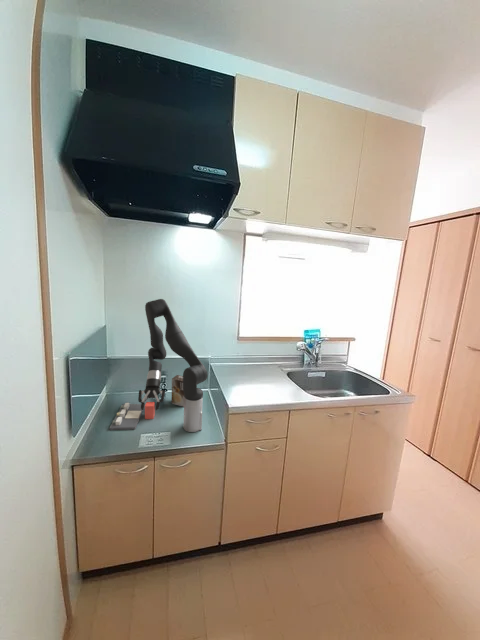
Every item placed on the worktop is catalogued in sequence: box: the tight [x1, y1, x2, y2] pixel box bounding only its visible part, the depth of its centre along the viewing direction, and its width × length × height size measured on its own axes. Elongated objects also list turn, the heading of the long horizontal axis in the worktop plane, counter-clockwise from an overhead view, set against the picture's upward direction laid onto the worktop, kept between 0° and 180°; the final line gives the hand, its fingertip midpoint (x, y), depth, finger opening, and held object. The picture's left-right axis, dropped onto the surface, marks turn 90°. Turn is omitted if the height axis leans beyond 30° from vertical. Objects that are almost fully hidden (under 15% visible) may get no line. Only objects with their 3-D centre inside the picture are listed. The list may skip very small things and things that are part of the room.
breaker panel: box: [109, 402, 146, 431], centre depth 140 cm, size 12×22×3 cm, turn 8°
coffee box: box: [171, 374, 184, 408], centre depth 156 cm, size 9×6×16 cm
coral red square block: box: [144, 401, 156, 420], centre depth 141 cm, size 4×4×8 cm
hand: (149, 409), depth 141 cm, fingers open, 6 cm apart
